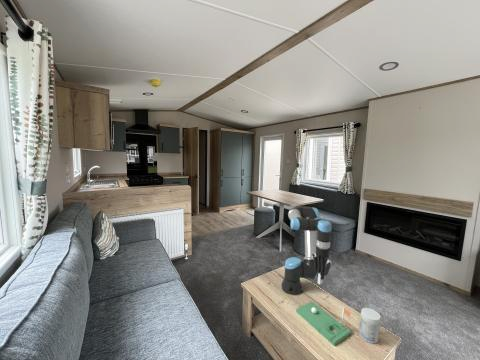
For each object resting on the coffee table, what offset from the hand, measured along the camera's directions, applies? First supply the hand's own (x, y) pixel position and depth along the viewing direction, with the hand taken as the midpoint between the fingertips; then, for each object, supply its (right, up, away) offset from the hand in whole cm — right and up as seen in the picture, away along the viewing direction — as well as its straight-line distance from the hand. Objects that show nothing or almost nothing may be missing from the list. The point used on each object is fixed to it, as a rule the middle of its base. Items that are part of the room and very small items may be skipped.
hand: (320, 283), depth 129 cm
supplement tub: (+24, -26, -9) cm, 37 cm away
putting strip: (+1, -24, +1) cm, 24 cm away
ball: (-2, -20, +5) cm, 21 cm away
